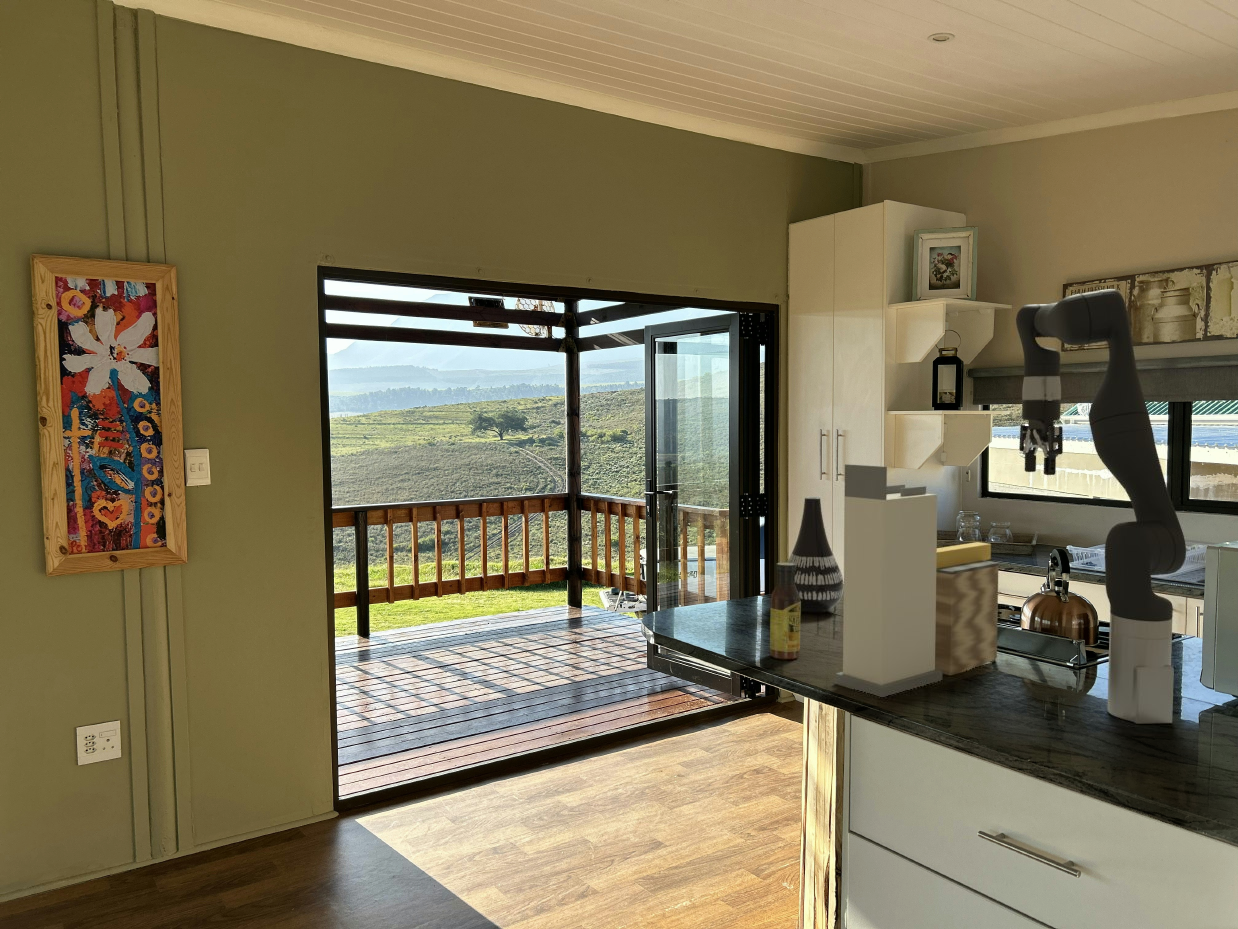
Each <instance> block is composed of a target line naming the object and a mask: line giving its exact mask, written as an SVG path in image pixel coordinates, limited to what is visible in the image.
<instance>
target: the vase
mask: <svg viewBox="0 0 1238 929" xmlns="http://www.w3.org/2000/svg"><path fill="white" fill-rule="evenodd" d="M821 501H822V500H821V497H819V496H817V497H816V496H807V497H805V498H804V501H803V502H804V503H803V512H802V517H801V523H800V528H799V532H798V536H797V538H796V542H795V544H794V546H793V549H792V551H791V554H790V556H789V558H788V560H787V562H786V563H794V564H796V571H795V586H796V589H797V592H798V595H799V598H800V601H801V610H800V614H801V613H802V614H805V615H822V614H825V612H826V611H828V610H830V609H833V608H834V607H835V606H836V605H838V603H839V601H840V600H841V599H842V597H843V595H844V576H843V574H842V572H841V569H840V566H839V565H838V564H839V563H837V560H836V558H835V556H834V553H833V551H832V549H831V546H830V543H829V540H828V537H827V534H826V533H827V532H826V529H825V528H826V527H825V524H824V518H823V512H822V504H821V503H822V502H821Z"/></svg>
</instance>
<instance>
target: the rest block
mask: <svg viewBox="0 0 1238 929" xmlns="http://www.w3.org/2000/svg"><path fill="white" fill-rule="evenodd" d="M999 564H1000V563H999V562H994V561H988V560H982V561H977V562H971V563H965V564H959V565H954V566H948V567H942V568H936V626H935V668H936V669H940V670H942V675H947V676H950V675H951V676H954V675H958V674H961V673H964V672H966V670H967V671H970V669H971V670H973V669H972V668H974V669H976V668H975V667H977V666H980V665H983V664H985V663H987V662H990V661H992V660H994V659H996V658H998V655H997V654H998V618H999V617H998V613H999V611H998V609H999V604H998V603H999Z"/></svg>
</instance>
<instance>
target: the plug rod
mask: <svg viewBox="0 0 1238 929" xmlns="http://www.w3.org/2000/svg"><path fill="white" fill-rule="evenodd" d="M991 549H992V544H991V543H986V542H979V541H977V542H971V543H963V544H957V545H950V546H944V547H938V548H937V558H936V568H942V567H948V566H954V565H959V564H965V563H971V562H977V561H988V560H991V559H992V555H991V554H992V550H991Z"/></svg>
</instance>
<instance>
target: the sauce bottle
mask: <svg viewBox="0 0 1238 929" xmlns="http://www.w3.org/2000/svg"><path fill="white" fill-rule="evenodd" d="M775 565H776V573H777V574H776V577H777V578H776V586H775V588H774V589H773V590H772V592H771V597H770V598H771V600H770V601H771V605H770V616H769V618H770V620H769V621H770V622H769V625H770V626H769V627H770V628H769V630H770V631H769V634H770V635H769V636H770V637H769V648H770V655H771V657H772V658H774V659H779V660H794V659H797V658H799V655H800V650H801V612H800V610H801V601H800V598H799V595H798V592H797V589H796V586H795V571H796V564H794V563H787V562H777V563H776V564H775Z"/></svg>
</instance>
